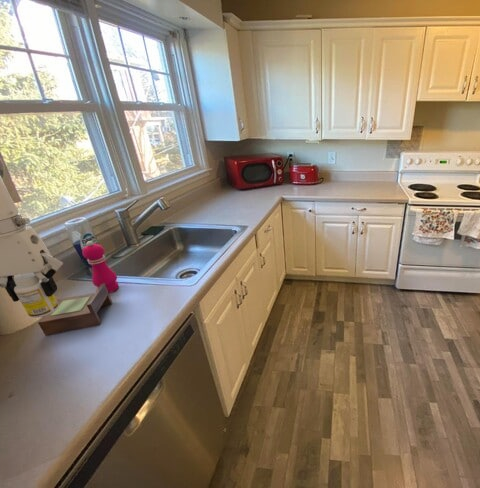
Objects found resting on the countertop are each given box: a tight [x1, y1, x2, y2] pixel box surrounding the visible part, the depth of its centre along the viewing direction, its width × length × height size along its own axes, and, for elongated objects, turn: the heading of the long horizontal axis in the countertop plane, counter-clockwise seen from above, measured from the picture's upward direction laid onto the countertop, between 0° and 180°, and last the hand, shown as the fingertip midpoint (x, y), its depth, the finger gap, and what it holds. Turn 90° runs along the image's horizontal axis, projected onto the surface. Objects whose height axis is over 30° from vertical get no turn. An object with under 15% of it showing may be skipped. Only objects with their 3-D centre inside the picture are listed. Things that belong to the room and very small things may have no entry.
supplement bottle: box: [14, 273, 59, 318], centre depth 67 cm, size 6×6×10 cm
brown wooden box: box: [37, 284, 113, 336], centre depth 89 cm, size 14×12×8 cm
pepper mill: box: [81, 240, 120, 294], centre depth 101 cm, size 7×7×20 cm
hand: (36, 295), depth 67 cm, fingers closed on supplement bottle, 5 cm apart
